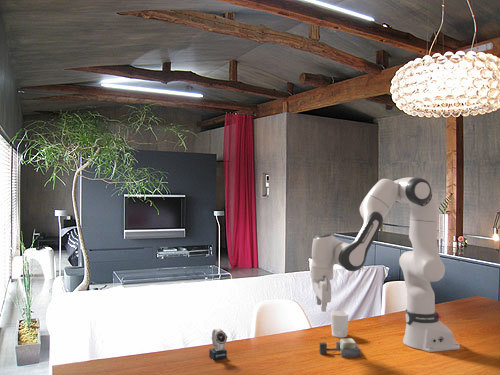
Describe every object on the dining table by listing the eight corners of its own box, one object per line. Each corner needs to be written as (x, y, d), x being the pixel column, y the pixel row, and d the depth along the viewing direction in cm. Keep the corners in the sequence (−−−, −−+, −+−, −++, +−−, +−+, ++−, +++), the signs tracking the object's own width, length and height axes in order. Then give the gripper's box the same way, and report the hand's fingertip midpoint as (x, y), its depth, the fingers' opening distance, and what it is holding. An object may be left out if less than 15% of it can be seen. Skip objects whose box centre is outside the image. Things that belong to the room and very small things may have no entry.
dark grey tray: (354, 348, 179) (354, 341, 179) (360, 357, 170) (360, 349, 170) (336, 349, 178) (336, 341, 178) (341, 357, 170) (341, 349, 170)
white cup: (328, 336, 193) (329, 314, 193) (332, 331, 200) (332, 309, 200) (346, 339, 190) (346, 316, 190) (349, 333, 198) (349, 311, 198)
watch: (215, 362, 164) (215, 333, 164) (207, 355, 171) (207, 327, 171) (229, 360, 167) (229, 331, 167) (220, 352, 174) (220, 325, 174)
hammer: (352, 350, 177) (352, 338, 177) (355, 355, 172) (355, 342, 172) (318, 351, 176) (318, 338, 176) (321, 355, 171) (321, 343, 171)
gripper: (335, 279, 165) (334, 315, 165) (324, 269, 186) (323, 301, 186) (319, 279, 165) (318, 315, 165) (310, 269, 186) (309, 301, 186)
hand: (321, 307), depth 176 cm, fingers open, 8 cm apart
